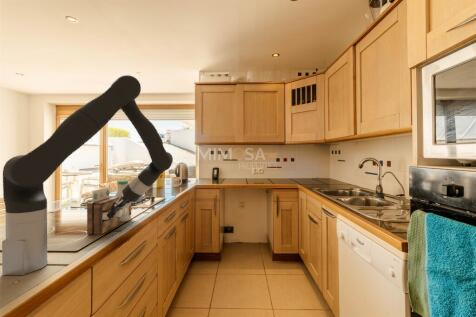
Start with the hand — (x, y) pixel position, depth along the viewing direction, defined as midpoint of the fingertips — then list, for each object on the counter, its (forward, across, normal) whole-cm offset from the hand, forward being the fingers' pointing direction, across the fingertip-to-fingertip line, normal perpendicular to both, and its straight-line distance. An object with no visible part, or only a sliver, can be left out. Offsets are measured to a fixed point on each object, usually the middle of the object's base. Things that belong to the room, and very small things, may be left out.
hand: (108, 216), depth 104 cm
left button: (+3, 0, -1) cm, 3 cm away
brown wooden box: (+8, -5, +1) cm, 10 cm away
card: (0, -5, -9) cm, 10 cm away
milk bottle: (+8, -19, +2) cm, 21 cm away
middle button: (+1, -5, +1) cm, 5 cm away
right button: (+1, -10, +1) cm, 10 cm away
